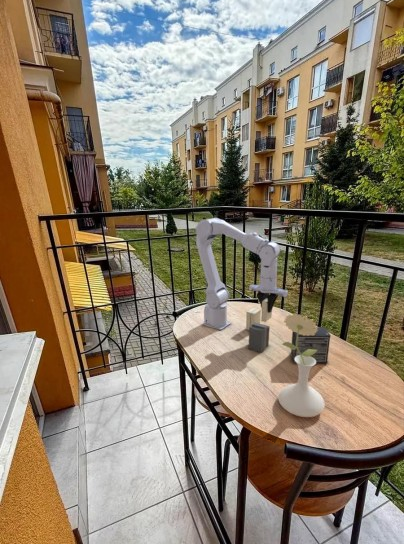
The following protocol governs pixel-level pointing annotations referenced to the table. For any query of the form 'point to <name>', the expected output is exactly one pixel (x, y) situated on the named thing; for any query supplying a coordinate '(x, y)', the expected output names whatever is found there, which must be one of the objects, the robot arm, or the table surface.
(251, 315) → the cream books
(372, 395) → the table surface
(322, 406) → the flower in vase
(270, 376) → the table surface
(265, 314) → the cream book
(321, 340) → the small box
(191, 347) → the table surface
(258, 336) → the grey books
